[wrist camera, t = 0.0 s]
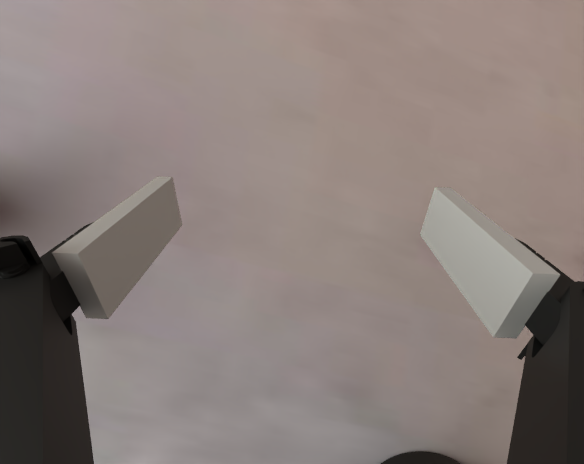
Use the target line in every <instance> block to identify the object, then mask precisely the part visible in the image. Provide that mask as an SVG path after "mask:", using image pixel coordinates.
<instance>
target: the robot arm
mask: <svg viewBox="0 0 584 464" xmlns="http://www.w3.org/2000/svg"><path fill="white" fill-rule="evenodd" d="M181 226H182V221H181V216H180V211H179V206H178V201H177V197H176V192H175V187H174V182H173V178H172V177H156V178H155V179H153V180H152V181H151V182H149V183H148V184H146V185H145V186H144V187H142V188H141V189H139V190H138V191H137V192H135V193H134V194H133V195H131V196H130V197H128V198H127V199H126V200H124V201H123V202H121V203H120V204H119V205H117V206H116V207H114V208H113V209H112V210H110V211H109V212H108V213H106V214H105V215H103V216H102V217H101V218H99V219H98V220H96V221H95V222H93V223H91V224H88V225H86V226H84V227H83V228H81V229H80V230H78V231H77V232H76V233H75V234H74V235H71V236H70V237H69V238H67V239H66V241H63V242H61V243H60V244H59V245H57V246H56V247H54V248H53V249H52V250H50V251H49V252H47V253H46V254H44V255H43V256H42V257H39V256H38V254H37V252H36V250H35V248H34V247H33V245H32V243H31V241H30V240H29V238H28V237H25V236H8V237H2V238H0V464H94V461H93V453H92V445H91V437H90V430H89V422H88V414H87V406H86V398H85V391H84V383H83V375H82V367H81V360H80V352H79V344H78V336H77V329H76V321H75V320H74V318H73V316H72V313H73V312H74V311H75V310H76V309H77V308H78V307H79V306H80V307H81V309H82V311H83V313H84V315H85V316H86V318H98V319H109V317H110V316H111V315H112V313H113V312H114V311H115V310H116V308H117V307H118V306H119V305H120V303H121V302H122V301H123V300H124V298H125V297H126V296H127V294H128V293H129V292H130V291H131V289H132V288H133V287H134V286H135V284H136V283H137V282H138V281H139V279H140V278H141V277H142V275H143V274H144V273H145V272H146V270H147V269H148V268H149V267H150V265H151V264H152V263H153V262H154V260H155V259H156V258H157V256H158V255H159V254H160V253H161V251H162V250H163V249H164V248H165V246H166V245H167V244H168V242H169V241H170V240H171V239H172V237H173V236H174V235H175V234H176V232H177V231H178V230H179V229H180V227H181ZM420 235H421V237H422V238H423V240H424V241H425V242H426V244H427V245H428V247H429V248H430V249H431V251H432V252H433V254H434V255H435V256H436V258H437V259H438V261H439V262H440V263H441V265H442V266H443V268H444V269H445V270H446V272H447V273H448V275H449V276H450V277H451V279H452V280H453V282H454V283H455V284H456V286H457V287H458V289H459V290H460V291H461V293H462V294H463V296H464V297H465V298H466V300H467V301H468V303H469V304H470V305H471V307H472V308H473V310H474V311H475V312H476V314H477V315H478V317H479V318H480V319H481V321H482V322H483V324H484V325H485V326H486V328H487V329H488V331H489V332H490V333H491V335H492V336H493V337H497V338H517V337H518V335H519V334H520V333H521V331H522V330H523V328H524V327H525V325H526V327H527V328H528V329H529V330H530V331H531V332H532V333H533V337H532V338H531V339H530V341H529V342H528V344H527V345H526V346H525V348H524V349H523V350H522V352H521V353H520V354H519V356H518V357H517V358H519V359H521V360H522V358H523V357H524V356H526V357H525V363H524V369H523V374H522V380H521V386H520V392H519V397H518V403H517V409H516V414H515V420H514V426H513V432H512V437H511V443H510V449H509V454H508V460H507V464H584V282H581V281H578V282H574V281H573V280H572V279H570V278H569V277H568V276H567V275H565V274H564V273H563V272H561V271H560V270H559V269H558V268H556V267H555V266H554V265H552V264H551V263H550V262H549V261H547V260H545V258H543V257H542V256H541V255H540V254H538V253H536V251H534V250H533V249H532V248H530V247H529V246H528V245H527V244H525V243H523V242H521V241H519V240H517V239H516V238H514V237H512V236H511V235H510V234H509V233H507V232H506V231H505V230H503V229H502V228H501V227H500V226H498V225H497V224H496V223H495V222H493V221H492V220H491V219H490V218H488V217H487V216H486V215H485V214H483V213H482V212H481V211H479V210H478V209H477V208H476V207H474V206H473V205H472V204H471V203H469V202H468V201H467V200H466V199H464V198H463V197H462V196H460V195H459V194H458V193H457V192H455V191H454V190H453V189H452V188H444V187H435V189H434V192H433V195H432V198H431V201H430V205H429V208H428V211H427V214H426V217H425V220H424V224H423V227H422V230H421V233H420ZM381 464H460V463H459V462H457V461H455V460H453V459H451V458H448V457H446V456H443V455H440V454H436V453H430V452H410V453H405V454H401V455H397V456H395V457H392V458H390V459H388V460H386V461H384V462H383V463H381Z"/></svg>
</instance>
